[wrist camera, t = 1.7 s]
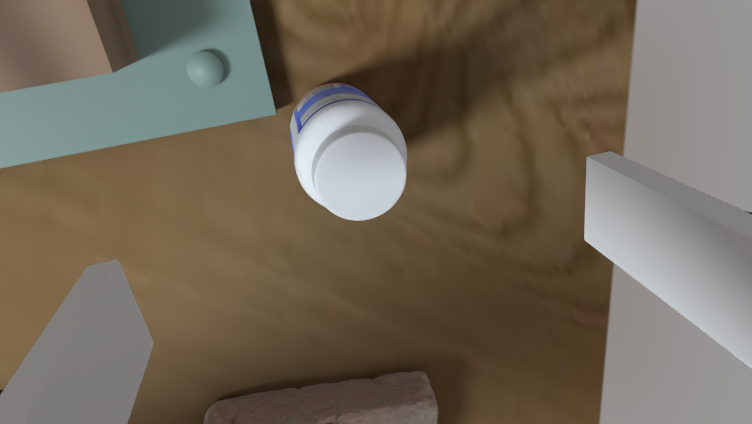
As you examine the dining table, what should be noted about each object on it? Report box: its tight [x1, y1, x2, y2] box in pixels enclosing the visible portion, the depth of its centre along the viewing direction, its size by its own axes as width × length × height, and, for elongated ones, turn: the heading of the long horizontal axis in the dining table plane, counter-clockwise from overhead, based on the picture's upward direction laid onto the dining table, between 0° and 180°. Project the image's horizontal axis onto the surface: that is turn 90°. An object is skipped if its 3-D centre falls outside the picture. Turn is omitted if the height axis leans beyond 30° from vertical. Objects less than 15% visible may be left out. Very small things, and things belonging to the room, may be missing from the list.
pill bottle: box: [290, 83, 407, 221], centre depth 25 cm, size 5×5×10 cm
